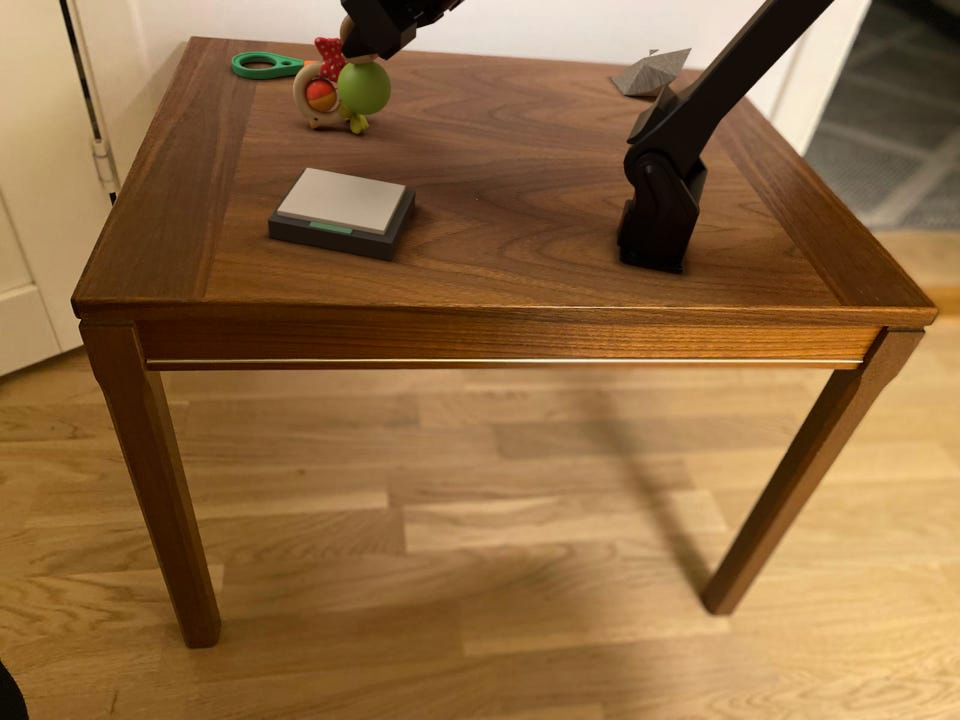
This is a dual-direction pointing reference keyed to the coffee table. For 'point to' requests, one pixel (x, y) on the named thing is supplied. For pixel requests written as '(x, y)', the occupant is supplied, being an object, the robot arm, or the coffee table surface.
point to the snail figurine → (362, 80)
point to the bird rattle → (324, 88)
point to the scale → (343, 213)
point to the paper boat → (651, 73)
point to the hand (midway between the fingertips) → (356, 45)
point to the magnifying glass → (281, 68)
